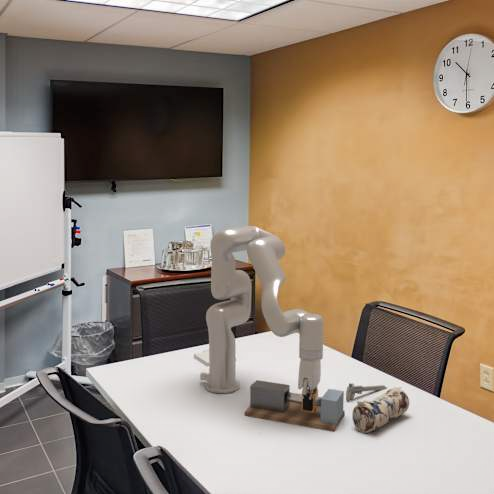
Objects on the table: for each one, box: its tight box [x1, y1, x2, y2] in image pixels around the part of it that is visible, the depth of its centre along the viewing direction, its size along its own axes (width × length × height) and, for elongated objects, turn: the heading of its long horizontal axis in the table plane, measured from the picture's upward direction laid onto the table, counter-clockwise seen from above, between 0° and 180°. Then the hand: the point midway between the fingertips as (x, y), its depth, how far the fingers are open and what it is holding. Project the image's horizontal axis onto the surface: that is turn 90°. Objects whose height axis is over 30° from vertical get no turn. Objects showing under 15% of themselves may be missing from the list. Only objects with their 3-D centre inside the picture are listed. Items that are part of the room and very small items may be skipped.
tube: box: [285, 388, 323, 413], centre depth 203 cm, size 18×4×6 cm, turn 67°
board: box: [244, 402, 346, 432], centre depth 204 cm, size 30×13×2 cm, turn 67°
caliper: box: [345, 382, 388, 402], centre depth 221 cm, size 21×1×6 cm, turn 128°
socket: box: [320, 388, 345, 424], centre depth 199 cm, size 5×9×8 cm, turn 157°
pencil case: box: [352, 386, 410, 434], centre depth 198 cm, size 22×8×10 cm, turn 135°
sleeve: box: [249, 379, 291, 413], centre depth 207 cm, size 12×6×7 cm, turn 67°
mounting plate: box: [193, 349, 237, 368], centre depth 259 cm, size 18×13×2 cm
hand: (309, 406), depth 202 cm, fingers closed on tube, 4 cm apart
